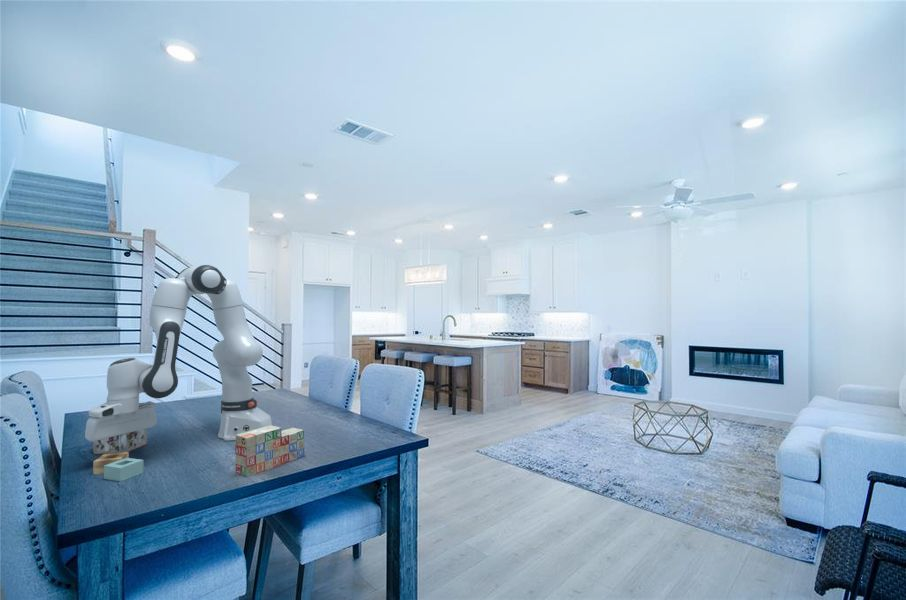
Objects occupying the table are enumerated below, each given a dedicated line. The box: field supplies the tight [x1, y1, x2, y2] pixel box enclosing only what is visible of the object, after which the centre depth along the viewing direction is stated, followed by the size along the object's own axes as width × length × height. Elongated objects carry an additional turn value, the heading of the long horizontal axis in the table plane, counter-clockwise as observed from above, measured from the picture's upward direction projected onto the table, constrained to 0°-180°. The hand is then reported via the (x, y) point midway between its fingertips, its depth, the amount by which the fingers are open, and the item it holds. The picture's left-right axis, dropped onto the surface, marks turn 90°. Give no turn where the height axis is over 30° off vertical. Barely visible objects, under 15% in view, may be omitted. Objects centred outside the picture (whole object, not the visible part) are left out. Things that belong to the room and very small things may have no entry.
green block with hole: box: [103, 457, 144, 482], centre depth 133 cm, size 7×7×4 cm
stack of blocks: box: [234, 425, 305, 478], centre depth 142 cm, size 21×6×12 cm, turn 147°
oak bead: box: [92, 452, 130, 475], centre depth 139 cm, size 7×7×4 cm
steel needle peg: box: [119, 433, 127, 453], centre depth 147 cm, size 2×2×13 cm
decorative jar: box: [92, 428, 148, 455], centre depth 158 cm, size 12×12×18 cm
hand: (123, 446), depth 147 cm, fingers open, 7 cm apart
